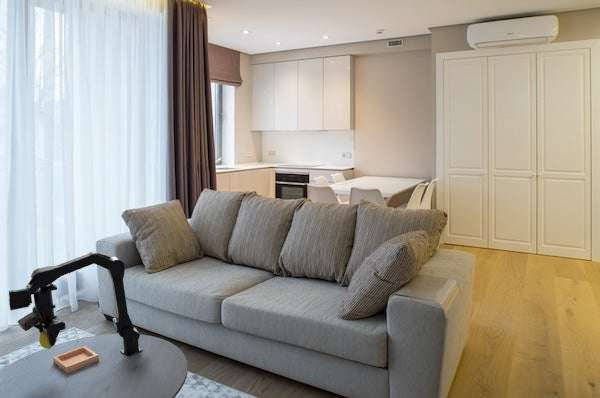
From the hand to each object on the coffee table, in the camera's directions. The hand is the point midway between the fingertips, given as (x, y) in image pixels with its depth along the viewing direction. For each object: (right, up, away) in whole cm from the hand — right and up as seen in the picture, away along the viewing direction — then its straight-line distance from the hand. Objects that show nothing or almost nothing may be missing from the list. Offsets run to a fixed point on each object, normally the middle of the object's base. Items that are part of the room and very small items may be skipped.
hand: (48, 343), depth 161 cm
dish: (+5, -10, +9) cm, 15 cm away
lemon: (0, -2, 0) cm, 2 cm away
